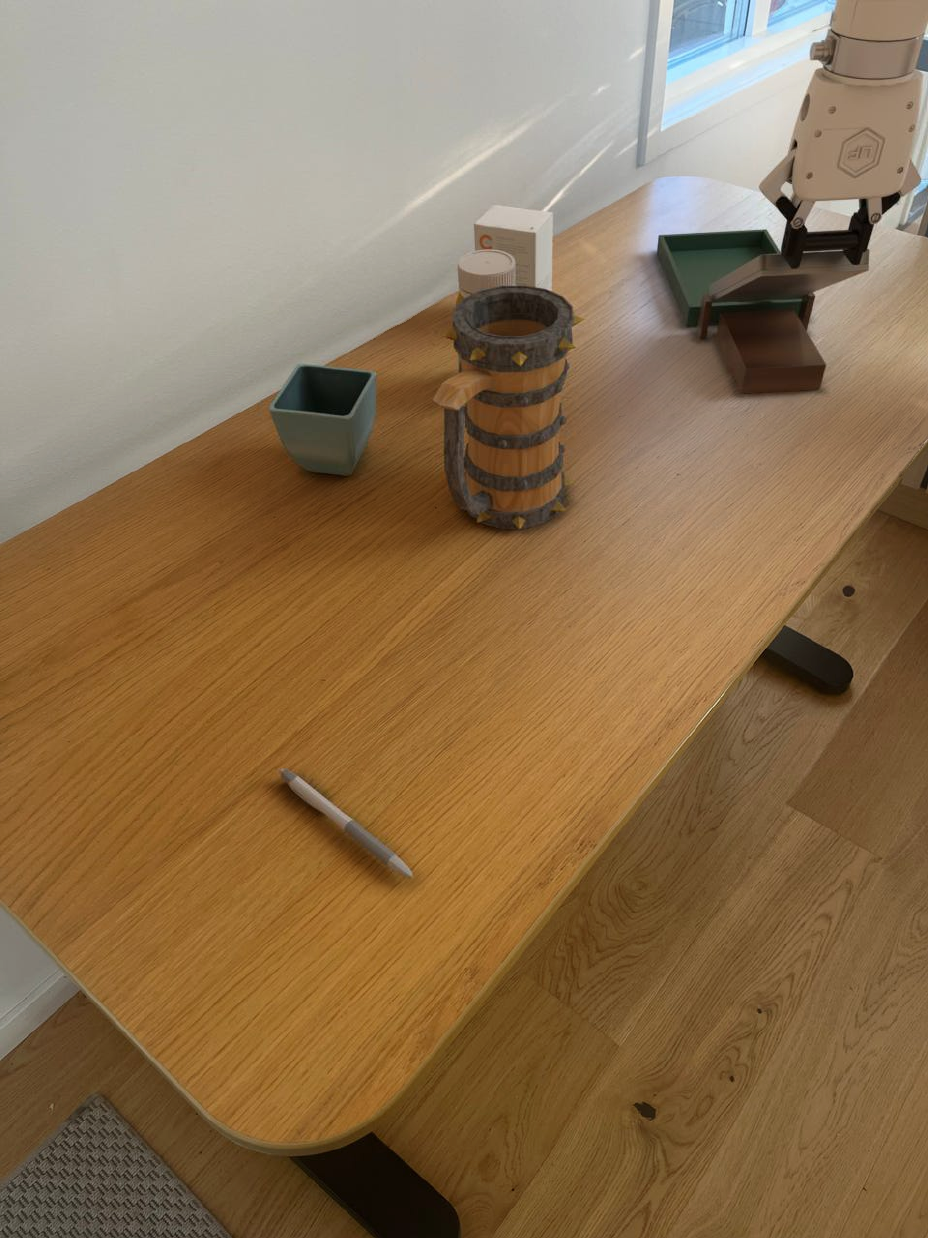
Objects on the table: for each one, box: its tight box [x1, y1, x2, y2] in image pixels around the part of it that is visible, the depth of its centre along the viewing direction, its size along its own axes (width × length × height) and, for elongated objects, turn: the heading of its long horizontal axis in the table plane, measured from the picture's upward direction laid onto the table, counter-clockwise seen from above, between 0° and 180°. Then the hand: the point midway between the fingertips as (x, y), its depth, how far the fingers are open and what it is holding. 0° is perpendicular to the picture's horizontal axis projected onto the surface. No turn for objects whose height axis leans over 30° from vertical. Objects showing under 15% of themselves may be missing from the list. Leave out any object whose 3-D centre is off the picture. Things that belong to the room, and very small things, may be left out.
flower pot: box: [268, 363, 377, 477], centre depth 95 cm, size 9×9×9 cm
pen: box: [278, 767, 414, 879], centre depth 66 cm, size 1×14×1 cm, turn 49°
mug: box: [432, 285, 586, 530], centre depth 85 cm, size 13×17×20 cm
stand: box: [696, 292, 827, 394], centre depth 108 cm, size 14×13×5 cm
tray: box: [656, 228, 803, 328], centre depth 122 cm, size 21×15×3 cm
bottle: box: [455, 249, 515, 365], centre depth 102 cm, size 7×7×15 cm
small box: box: [473, 204, 554, 291], centre depth 114 cm, size 8×6×13 cm
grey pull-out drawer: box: [709, 229, 870, 303], centre depth 100 cm, size 24×11×3 cm
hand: (821, 258), depth 91 cm, fingers closed on grey pull-out drawer, 5 cm apart
